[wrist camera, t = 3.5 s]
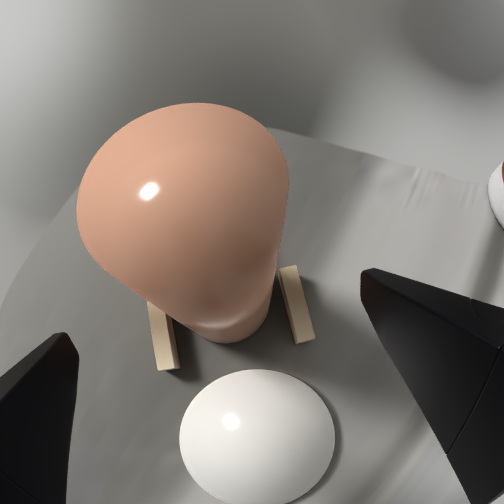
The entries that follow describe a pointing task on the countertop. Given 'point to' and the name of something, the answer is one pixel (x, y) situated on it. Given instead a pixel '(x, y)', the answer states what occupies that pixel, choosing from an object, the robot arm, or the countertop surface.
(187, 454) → the white disc
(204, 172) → the salmon tan cylinder
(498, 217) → the milk bottle
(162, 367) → the wooden blocks
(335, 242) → the countertop surface
